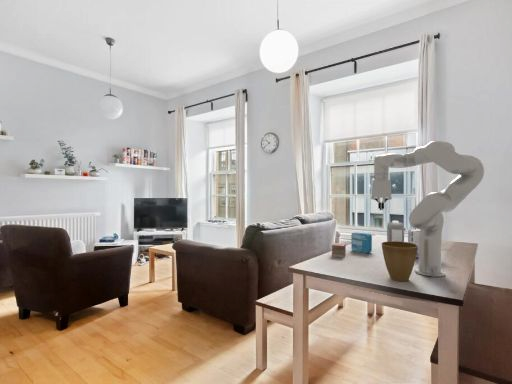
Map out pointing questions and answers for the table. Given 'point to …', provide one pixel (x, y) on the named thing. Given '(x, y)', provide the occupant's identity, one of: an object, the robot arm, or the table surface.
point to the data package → (361, 242)
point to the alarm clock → (395, 231)
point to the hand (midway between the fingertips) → (381, 209)
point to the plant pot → (399, 259)
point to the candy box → (414, 239)
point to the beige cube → (338, 249)
